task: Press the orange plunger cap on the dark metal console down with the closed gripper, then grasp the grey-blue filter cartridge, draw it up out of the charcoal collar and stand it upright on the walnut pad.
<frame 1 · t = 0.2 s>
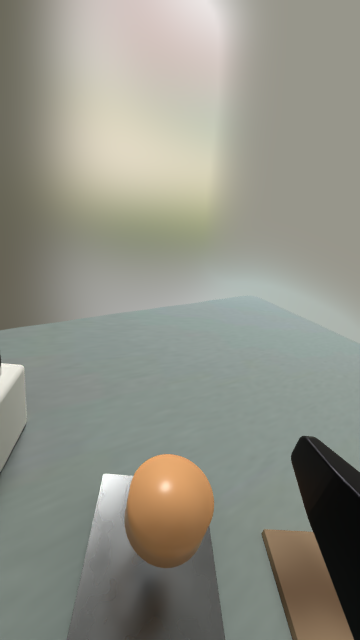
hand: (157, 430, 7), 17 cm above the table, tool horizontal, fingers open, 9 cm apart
walnut pad: (344, 613, 18), on the table
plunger: (164, 517, 14), point 7 cm above the table, slide at 0.0 cm
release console: (144, 580, 17), on the table
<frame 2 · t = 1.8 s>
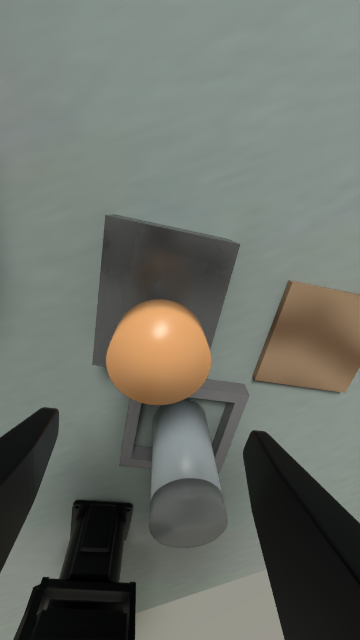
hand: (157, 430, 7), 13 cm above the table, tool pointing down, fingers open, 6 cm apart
collar: (179, 419, 24), on the table
walnut pad: (317, 340, 22), on the table
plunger: (159, 339, 13), point 7 cm above the table, slide at 0.0 cm
filter cartridge: (183, 461, 20), in the collar
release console: (160, 295, 19), on the table
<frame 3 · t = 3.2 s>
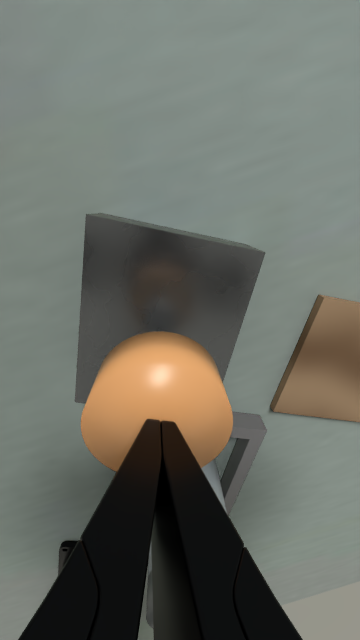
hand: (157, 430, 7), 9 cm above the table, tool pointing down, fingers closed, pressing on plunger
collar: (183, 454, 21), on the table
walnut pad: (349, 364, 18), on the table
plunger: (159, 382, 9), point 7 cm above the table, slide at 0.4 cm, touching gripper
filter cartridge: (188, 514, 17), in the collar
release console: (160, 313, 16), on the table
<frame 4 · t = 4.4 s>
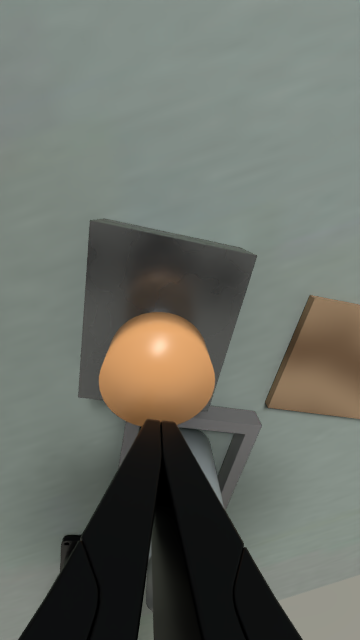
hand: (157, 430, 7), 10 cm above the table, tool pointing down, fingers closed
collar: (181, 449, 22), on the table
walnut pad: (340, 362, 19), on the table
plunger: (158, 354, 12), point 5 cm above the table, slide at 2.1 cm
filter cartridge: (186, 506, 17), in the collar
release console: (159, 312, 16), on the table
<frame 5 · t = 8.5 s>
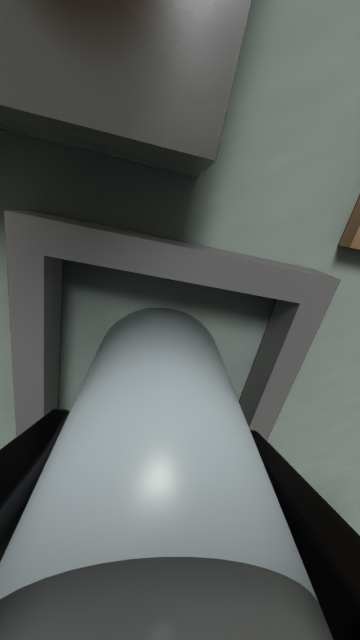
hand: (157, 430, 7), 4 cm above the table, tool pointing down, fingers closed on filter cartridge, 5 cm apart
collar: (159, 363, 11), on the table
filter cartridge: (157, 459, 7), in the collar, touching gripper
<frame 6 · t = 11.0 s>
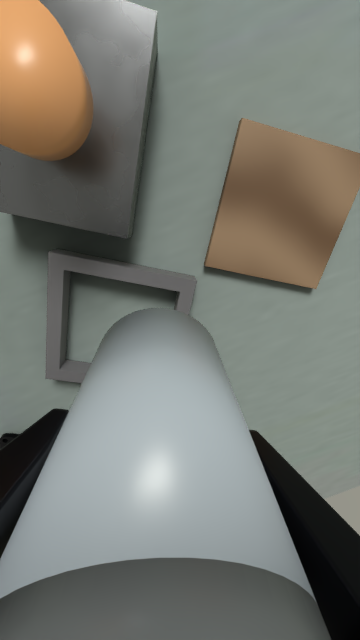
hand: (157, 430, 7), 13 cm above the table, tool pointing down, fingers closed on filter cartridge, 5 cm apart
collar: (119, 324, 20), on the table
walnut pad: (280, 214, 18), on the table
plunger: (40, 100, 11), point 5 cm above the table, slide at 2.1 cm
filter cartridge: (156, 460, 7), point 14 cm above the table, touching gripper
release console: (77, 135, 15), on the table
when the fingers open (5 cm above the table, at t = 13.6 s): filter cartridge drops 1 cm, resting on walnut pad.
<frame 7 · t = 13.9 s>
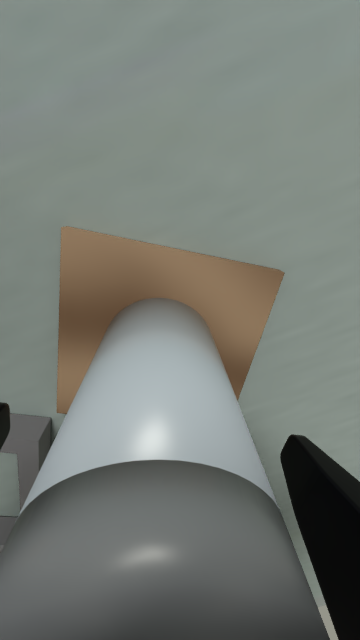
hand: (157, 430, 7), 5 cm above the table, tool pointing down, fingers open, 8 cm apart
walnut pad: (160, 343, 12), on the table
filter cartridge: (156, 424, 8), on the walnut pad, point 5 cm above the table
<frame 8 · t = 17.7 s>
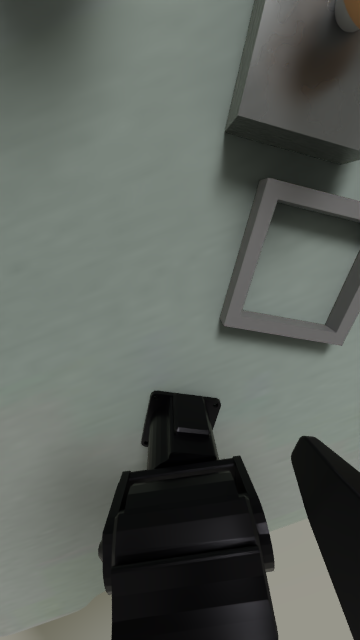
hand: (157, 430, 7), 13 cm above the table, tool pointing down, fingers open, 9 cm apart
collar: (299, 269, 19), on the table
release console: (316, 45, 14), on the table
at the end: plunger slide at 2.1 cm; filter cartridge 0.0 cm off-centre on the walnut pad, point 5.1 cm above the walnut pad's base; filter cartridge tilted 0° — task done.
